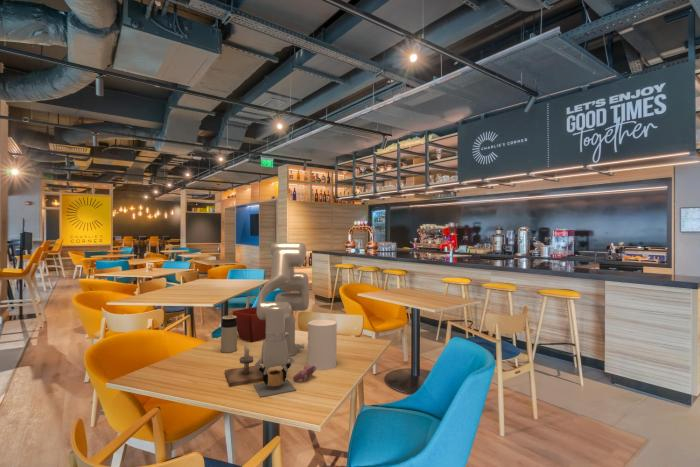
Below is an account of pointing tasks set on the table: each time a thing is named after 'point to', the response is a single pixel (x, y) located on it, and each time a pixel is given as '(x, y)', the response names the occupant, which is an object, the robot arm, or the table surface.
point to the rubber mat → (274, 389)
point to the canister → (322, 343)
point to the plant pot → (250, 325)
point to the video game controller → (305, 373)
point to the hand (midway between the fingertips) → (274, 381)
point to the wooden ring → (275, 377)
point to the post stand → (244, 372)
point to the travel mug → (229, 334)
